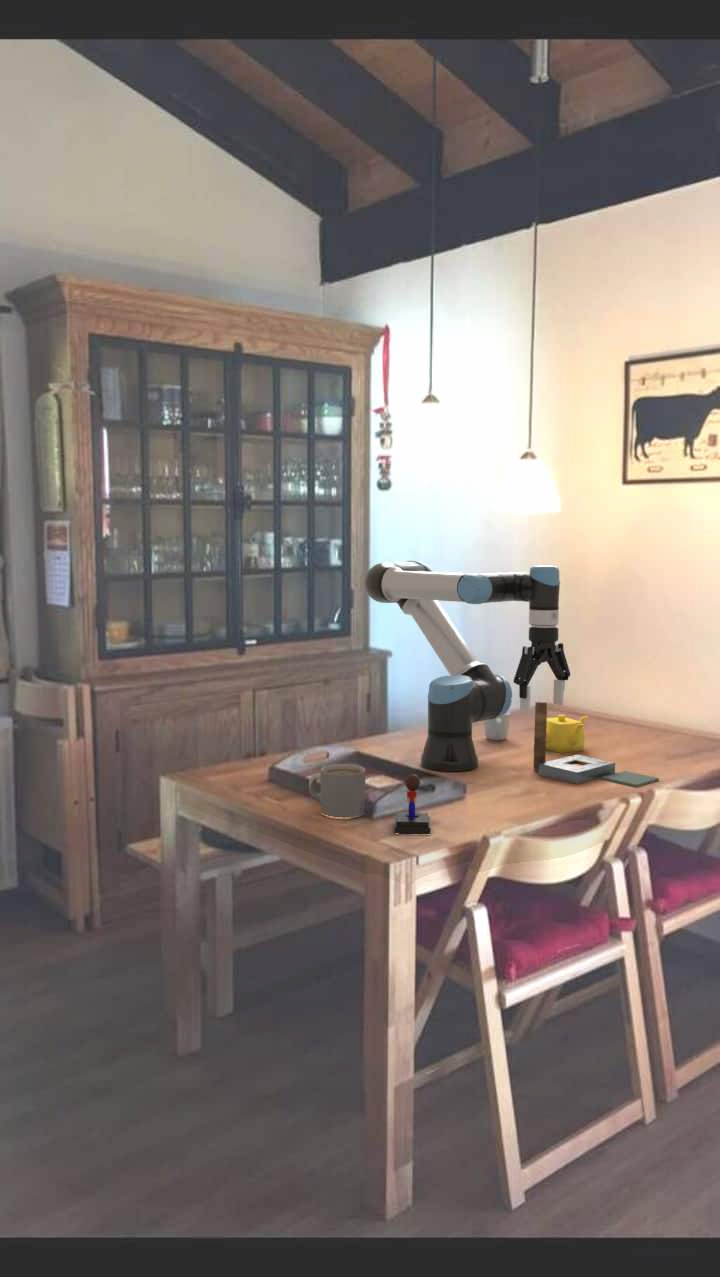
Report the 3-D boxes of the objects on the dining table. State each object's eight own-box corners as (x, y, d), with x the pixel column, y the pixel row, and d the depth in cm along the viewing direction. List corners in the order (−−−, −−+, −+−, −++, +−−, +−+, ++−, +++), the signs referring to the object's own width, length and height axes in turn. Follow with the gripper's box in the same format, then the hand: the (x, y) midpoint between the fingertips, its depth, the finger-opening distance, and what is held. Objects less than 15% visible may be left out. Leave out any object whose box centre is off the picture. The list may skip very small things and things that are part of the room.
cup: (512, 744, 303) (513, 717, 302) (485, 743, 303) (485, 716, 302) (508, 736, 314) (508, 710, 313) (481, 735, 314) (482, 709, 313)
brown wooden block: (540, 772, 269) (542, 703, 267) (531, 770, 272) (532, 702, 269) (547, 770, 271) (549, 702, 269) (538, 768, 273) (540, 701, 271)
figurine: (429, 823, 224) (430, 769, 223) (430, 835, 216) (431, 778, 214) (394, 822, 224) (395, 768, 223) (394, 834, 216) (395, 778, 215)
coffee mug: (374, 812, 232) (374, 768, 231) (345, 822, 224) (345, 777, 223) (328, 801, 240) (329, 759, 239) (299, 810, 233) (299, 767, 232)
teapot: (539, 741, 307) (539, 709, 306) (587, 744, 303) (588, 712, 302) (532, 752, 293) (533, 718, 292) (583, 755, 289) (584, 721, 288)
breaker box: (576, 784, 258) (577, 772, 257) (538, 775, 267) (539, 763, 266) (614, 774, 268) (615, 762, 268) (576, 765, 277) (577, 754, 277)
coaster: (636, 787, 255) (636, 784, 255) (601, 779, 263) (602, 776, 263) (658, 780, 262) (658, 778, 262) (624, 772, 269) (625, 770, 269)
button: (578, 771, 264) (578, 768, 264) (565, 768, 267) (565, 765, 267) (588, 768, 267) (588, 766, 267) (575, 765, 270) (575, 763, 270)
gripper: (523, 630, 256) (522, 715, 258) (585, 623, 272) (583, 703, 275) (500, 628, 261) (499, 711, 264) (562, 621, 278) (560, 700, 280)
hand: (541, 707), depth 269 cm, fingers open, 13 cm apart
